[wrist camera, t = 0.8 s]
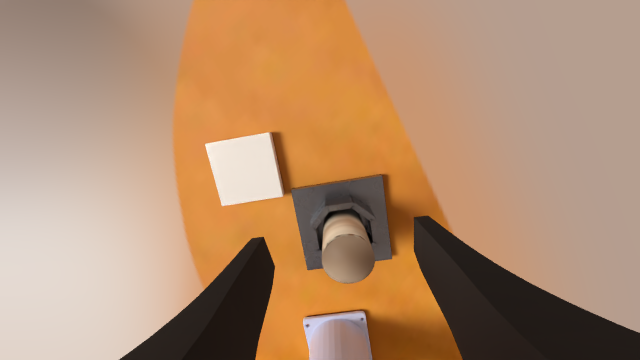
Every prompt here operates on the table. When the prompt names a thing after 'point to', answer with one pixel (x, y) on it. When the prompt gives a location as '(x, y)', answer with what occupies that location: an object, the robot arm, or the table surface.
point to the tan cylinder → (346, 247)
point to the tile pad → (245, 169)
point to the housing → (338, 196)
